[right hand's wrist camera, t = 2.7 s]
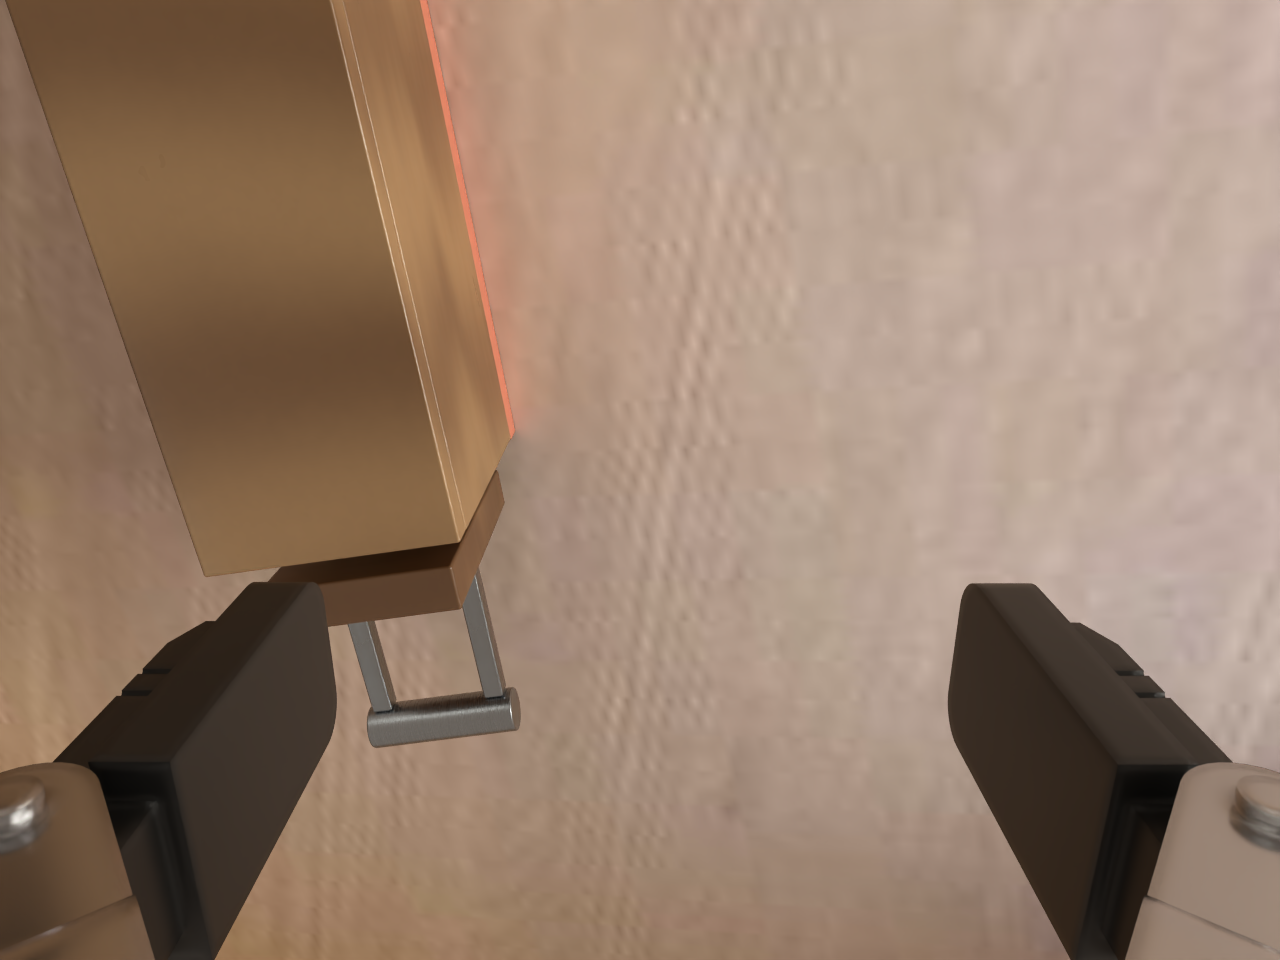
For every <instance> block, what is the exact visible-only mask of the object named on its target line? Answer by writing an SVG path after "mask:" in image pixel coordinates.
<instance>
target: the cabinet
mask: <svg viewBox="0 0 1280 960" xmlns="http://www.w3.org/2000/svg"><path fill="white" fill-rule="evenodd" d="M5 1H6V4H7V7H8V10H9V13H10V15H11V18H12V21H13V24H14V27H15V30H16V33H17V36H18V39H19V42H20V44H21V47H22V50H23V53H24V56H25V59H26V62H27V65H28V68H29V70H30V73H31V76H32V79H33V82H34V85H35V88H36V91H37V94H38V96H39V99H40V102H41V105H42V108H43V111H44V114H45V117H46V120H47V122H48V125H49V128H50V131H51V134H52V137H53V140H54V143H55V146H56V148H57V151H58V154H59V157H60V160H61V163H62V166H63V169H64V172H65V174H66V177H67V180H68V183H69V186H70V189H71V192H72V195H73V198H74V200H75V203H76V206H77V209H78V212H79V215H80V218H81V221H82V224H83V227H84V229H85V232H86V235H87V238H88V241H89V244H90V247H91V250H92V253H93V255H94V258H95V261H96V264H97V267H98V270H99V273H100V276H101V279H102V281H103V284H104V287H105V290H106V293H107V296H108V299H109V302H110V305H111V307H112V310H113V313H114V316H115V319H116V322H117V325H118V328H119V331H120V333H121V336H122V339H123V342H124V345H125V348H126V351H127V354H128V357H129V359H130V362H131V365H132V368H133V371H134V374H135V377H136V380H137V383H138V385H139V388H140V391H141V394H142V397H143V400H144V403H145V406H146V409H147V412H148V414H149V417H150V420H151V423H152V426H153V429H154V432H155V435H156V438H157V440H158V443H159V446H160V449H161V452H162V455H163V458H164V461H165V464H166V466H167V469H168V472H169V475H170V478H171V481H172V484H173V487H174V490H175V492H176V495H177V498H178V501H179V504H180V507H181V510H182V513H183V516H184V518H185V521H186V524H187V527H188V530H189V533H190V536H191V539H192V542H193V544H194V547H195V550H196V553H197V556H198V559H199V562H200V565H201V568H202V571H203V573H204V576H205V577H210V576H218V575H225V574H232V573H240V572H247V571H254V570H262V569H269V568H276V567H283V566H291V565H298V564H305V563H313V562H320V561H327V560H335V559H342V558H349V557H356V556H364V555H371V554H378V553H386V552H393V551H400V550H408V549H415V548H422V547H429V546H437V545H444V544H451V543H458V542H460V541H461V539H462V536H463V534H464V532H465V530H466V529H467V527H468V525H469V523H470V521H471V519H472V517H473V515H474V513H475V511H476V508H477V506H478V504H479V502H480V500H481V498H482V496H483V494H484V492H485V490H486V488H487V486H488V484H489V482H490V480H491V478H492V475H493V473H494V471H495V469H496V467H497V465H498V463H499V461H500V459H501V457H502V455H503V453H504V451H505V449H506V447H507V445H508V442H509V440H510V439H511V438H512V436H513V434H514V432H515V428H514V423H513V418H512V413H511V408H510V404H509V399H508V394H507V389H506V384H505V379H504V374H503V369H502V365H501V360H500V355H499V350H498V345H497V340H496V335H495V330H494V326H493V321H492V316H491V311H490V306H489V301H488V296H487V291H486V287H485V282H484V277H483V272H482V267H481V262H480V257H479V252H478V248H477V243H476V238H475V233H474V228H473V223H472V218H471V213H470V208H469V204H468V199H467V194H466V189H465V184H464V179H463V174H462V169H461V165H460V160H459V155H458V150H457V145H456V140H455V135H454V130H453V126H452V121H451V116H450V111H449V106H448V101H447V96H446V91H445V87H444V82H443V77H442V72H441V67H440V62H439V57H438V52H437V47H436V43H435V38H434V33H433V28H432V23H431V18H430V13H429V8H428V4H427V0H5Z"/></svg>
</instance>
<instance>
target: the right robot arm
mask: <svg viewBox="0 0 1280 960" xmlns="http://www.w3.org/2000/svg"><path fill="white" fill-rule="evenodd" d="M336 708H337V694H336V685H335V677H334V670H333V662H332V655H331V648H330V640H329V633H328V625H327V618H326V611H325V604H324V598H323V594H322V592H321V589H320V587H319V586H318V585H317V584H316V583H314V582H253V583H251V584H249V585H248V586H247V587H246V588H245V589H244V590H243V591H242V593H241V594H240V595H239V596H238V597H237V598H236V599H235V600H234V601H233V602H232V604H231V605H230V606H229V607H228V608H227V609H226V610H225V611H224V612H223V613H222V615H221V616H220V617H219V618H218V619H217V620H216V621H205V622H204V623H202V624H200V625H198V626H197V627H195V628H193V629H191V630H190V631H188V632H186V633H184V634H183V635H181V636H179V637H177V638H176V639H174V640H172V641H170V642H169V643H167V644H166V645H165V646H164V647H163V648H162V649H161V650H160V651H159V653H158V654H157V655H156V656H155V657H154V658H153V659H152V660H151V661H150V662H149V663H148V664H147V665H146V666H145V667H144V668H143V673H142V674H137V675H136V676H135V677H134V678H133V679H132V680H131V682H130V683H129V684H128V685H127V686H126V687H125V688H124V689H123V690H122V695H121V696H116V697H115V698H114V699H113V700H112V701H111V702H110V703H109V704H108V705H107V706H106V707H105V708H104V709H103V711H102V712H101V713H100V714H99V715H98V716H97V717H96V718H95V719H94V720H93V721H92V722H91V723H90V724H89V725H88V726H87V727H86V728H85V729H84V730H83V731H82V732H81V733H80V734H79V735H78V736H77V737H76V738H75V740H74V741H73V742H72V743H71V744H70V745H69V746H68V747H67V748H66V749H65V750H64V751H63V752H62V753H61V754H60V755H59V756H58V757H57V758H56V759H55V760H54V761H53V762H52V763H41V764H33V765H28V766H23V767H18V768H15V769H11V770H8V771H4V772H1V773H0V960H214V959H215V958H216V956H217V954H218V952H219V950H220V948H221V946H222V944H223V942H224V940H225V939H226V937H227V935H228V933H229V931H230V929H231V927H232V925H233V923H234V922H235V920H236V918H237V916H238V914H239V912H240V910H241V908H242V906H243V905H244V903H245V901H246V899H247V897H248V895H249V893H250V891H251V889H252V887H253V886H254V884H255V882H256V880H257V878H258V876H259V874H260V872H261V870H262V869H263V867H264V865H265V863H266V861H267V859H268V857H269V855H270V853H271V851H272V850H273V848H274V846H275V844H276V842H277V840H278V838H279V836H280V834H281V833H282V831H283V829H284V827H285V825H286V823H287V821H288V819H289V817H290V816H291V814H292V812H293V810H294V808H295V806H296V804H297V802H298V800H299V798H300V797H301V795H302V793H303V791H304V789H305V787H306V785H307V783H308V781H309V780H310V778H311V776H312V774H313V772H314V770H315V768H316V766H317V764H318V763H319V761H320V759H321V757H322V755H323V753H324V751H325V749H326V747H327V745H328V743H329V741H330V739H331V736H332V732H333V729H334V724H335V718H336ZM948 714H949V722H950V727H951V732H952V735H953V738H954V741H955V743H956V746H957V748H958V750H959V751H960V753H961V755H962V757H963V759H964V761H965V763H966V764H967V766H968V768H969V770H970V772H971V774H972V776H973V778H974V779H975V781H976V783H977V785H978V787H979V789H980V791H981V793H982V794H983V796H984V798H985V800H986V802H987V804H988V806H989V807H990V809H991V811H992V813H993V815H994V817H995V819H996V821H997V822H998V824H999V826H1000V828H1001V830H1002V832H1003V834H1004V836H1005V837H1006V839H1007V841H1008V843H1009V845H1010V847H1011V849H1012V851H1013V852H1014V854H1015V856H1016V858H1017V860H1018V862H1019V864H1020V865H1021V867H1022V869H1023V871H1024V873H1025V875H1026V877H1027V879H1028V880H1029V882H1030V884H1031V886H1032V888H1033V890H1034V892H1035V894H1036V895H1037V897H1038V899H1039V901H1040V903H1041V905H1042V907H1043V909H1044V910H1045V912H1046V914H1047V916H1048V918H1049V920H1050V922H1051V923H1052V925H1053V927H1054V929H1055V931H1056V933H1057V935H1058V937H1059V938H1060V940H1061V942H1062V944H1063V946H1064V948H1065V950H1066V952H1067V953H1068V955H1069V957H1070V959H1071V960H1280V773H1279V772H1276V771H1272V770H1269V769H1265V768H1262V767H1257V766H1252V765H1247V764H1239V763H1233V762H1232V761H1231V760H1230V759H1229V758H1228V757H1227V756H1226V755H1225V754H1224V753H1223V752H1222V751H1221V750H1220V749H1219V748H1218V747H1217V746H1216V745H1215V743H1214V742H1213V741H1212V740H1211V739H1210V738H1209V737H1208V736H1207V735H1206V734H1205V733H1204V732H1203V731H1202V730H1201V729H1200V728H1199V727H1198V726H1197V725H1196V724H1195V723H1194V722H1193V721H1192V720H1191V719H1190V718H1189V717H1188V716H1187V715H1186V714H1185V713H1184V712H1183V711H1182V710H1181V709H1180V708H1179V707H1178V706H1177V704H1176V703H1175V702H1174V701H1173V700H1172V699H1171V698H1165V692H1164V691H1163V690H1162V689H1161V688H1160V687H1159V686H1158V685H1157V684H1156V683H1155V682H1154V681H1153V680H1152V679H1151V678H1150V677H1149V676H1144V673H1143V670H1142V669H1141V668H1140V666H1139V665H1138V664H1137V663H1136V662H1135V661H1134V660H1133V659H1132V658H1131V657H1130V656H1129V655H1128V654H1127V653H1126V652H1125V651H1124V650H1123V649H1122V648H1121V647H1120V646H1119V645H1118V644H1116V643H1114V642H1113V641H1111V640H1109V639H1107V638H1106V637H1104V636H1102V635H1100V634H1099V633H1097V632H1095V631H1093V630H1092V629H1090V628H1088V627H1086V626H1085V625H1083V624H1081V623H1070V622H1069V621H1068V620H1067V619H1066V617H1065V616H1064V615H1063V614H1062V613H1061V612H1060V611H1059V610H1058V609H1057V608H1056V607H1055V605H1054V604H1053V603H1052V602H1051V601H1050V600H1049V599H1048V598H1047V597H1046V596H1045V595H1044V593H1043V592H1042V591H1041V590H1040V589H1039V588H1038V587H1037V586H1036V585H1034V584H1029V583H972V584H969V585H968V586H967V587H966V589H965V590H964V593H963V595H962V599H961V604H960V611H959V618H958V625H957V633H956V640H955V647H954V655H953V662H952V669H951V676H950V684H949V691H948Z"/></svg>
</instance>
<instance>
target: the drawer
mask: <svg viewBox="0 0 1280 960" xmlns="http://www.w3.org/2000/svg"><path fill="white" fill-rule="evenodd" d="M503 506H504V498H503V493H502V488H501V484H500V479H499V475H498V471H497V470H495V471H494V473H493V475H492V478H491V480H490V482H489V484H488V486H487V488H486V490H485V492H484V494H483V496H482V498H481V500H480V502H479V504H478V506H477V508H476V511H475V513H474V515H473V517H472V519H471V521H470V523H469V525H468V527H467V529H466V530H465V532H464V534H463V536H462V539H461V541H460V542H458V543H451V544H444V545H437V546H429V547H422V548H415V549H408V550H400V551H393V552H386V553H378V554H371V555H364V556H356V557H349V558H342V559H335V560H327V561H320V562H313V563H305V564H298V565H291V566H283V567H281V568H280V569H279V570H278V571H277V572H276V573H275V574H274V575H273V576H272V578H271V579H270V580H269V581H268V582H314V583H316V584H317V585H318V586H319V587H320V589H321V592H322V594H323V598H324V604H325V611H326V618H327V625H328V627H330V626H337V625H345V624H348V627H349V630H350V634H351V637H352V641H353V644H354V647H355V651H356V654H357V658H358V661H359V665H360V668H361V671H362V675H363V678H364V682H365V685H366V688H367V692H368V695H369V699H370V702H371V706H372V707H371V708H370V710H369V712H368V717H367V732H368V737H369V741H370V743H371V745H372V746H373V747H375V748H380V747H388V746H396V745H404V744H413V743H421V742H429V741H437V740H445V739H453V738H461V737H469V736H477V735H485V734H493V733H501V732H509V731H517V730H518V729H519V726H520V718H521V713H520V702H519V697H518V694H517V691H516V689H515V688H514V687H510V688H505V687H506V683H505V679H504V675H503V670H502V666H501V662H500V657H499V653H498V649H497V644H496V640H495V636H494V631H493V627H492V623H491V618H490V614H489V610H488V605H487V601H486V597H485V593H484V588H483V584H482V580H481V575H480V571H479V564H480V562H481V559H482V557H483V554H484V552H485V550H486V547H487V545H488V542H489V540H490V537H491V535H492V533H493V530H494V528H495V525H496V523H497V520H498V518H499V515H500V513H501V511H502V508H503ZM462 607H463V612H464V616H465V620H466V624H467V628H468V632H469V636H470V640H471V645H472V649H473V653H474V657H475V661H476V665H477V669H478V673H479V678H480V682H481V686H482V690H483V691H479V692H471V693H463V694H455V695H447V696H440V697H432V698H424V699H416V700H408V701H400V702H396V696H395V693H394V689H393V685H392V682H391V678H390V675H389V671H388V668H387V664H386V661H385V657H384V653H383V650H382V646H381V643H380V639H379V636H378V632H377V629H376V625H375V620H383V619H390V618H398V617H405V616H413V615H420V614H428V613H435V612H443V611H450V610H458V609H461V608H462Z"/></svg>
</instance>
